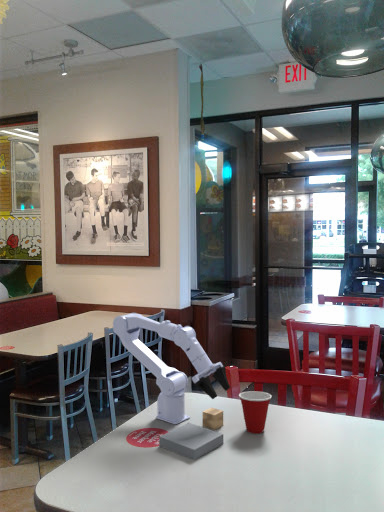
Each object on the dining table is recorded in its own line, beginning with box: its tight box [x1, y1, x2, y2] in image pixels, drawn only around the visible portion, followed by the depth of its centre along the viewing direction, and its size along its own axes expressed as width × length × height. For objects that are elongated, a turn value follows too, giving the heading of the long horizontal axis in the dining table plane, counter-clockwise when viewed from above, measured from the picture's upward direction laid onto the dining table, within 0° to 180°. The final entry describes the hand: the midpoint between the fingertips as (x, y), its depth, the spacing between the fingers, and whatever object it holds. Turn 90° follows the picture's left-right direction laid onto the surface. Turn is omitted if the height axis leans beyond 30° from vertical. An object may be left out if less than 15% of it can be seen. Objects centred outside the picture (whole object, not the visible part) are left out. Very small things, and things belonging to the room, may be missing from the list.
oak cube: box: [202, 407, 224, 431], centre depth 161 cm, size 5×5×5 cm
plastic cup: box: [238, 390, 273, 434], centre depth 157 cm, size 11×11×12 cm
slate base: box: [158, 422, 224, 461], centre depth 146 cm, size 14×14×3 cm
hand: (221, 393), depth 156 cm, fingers open, 7 cm apart
